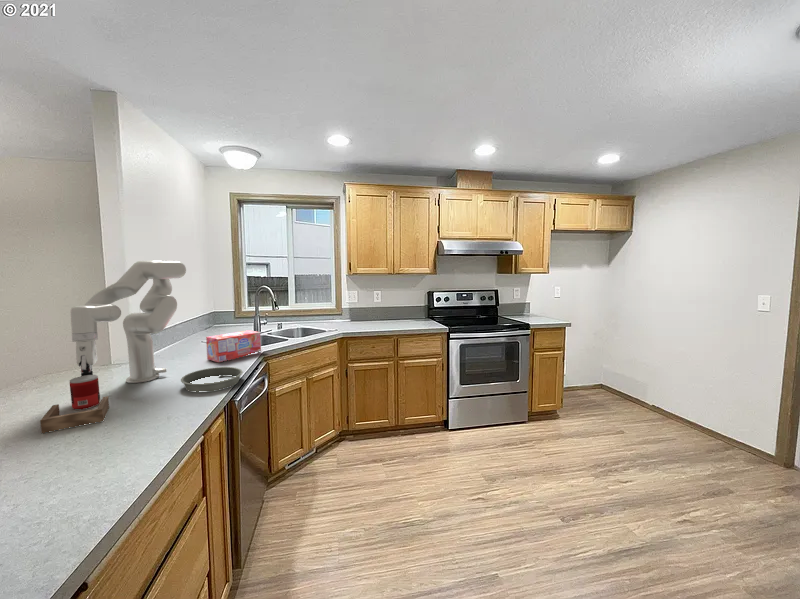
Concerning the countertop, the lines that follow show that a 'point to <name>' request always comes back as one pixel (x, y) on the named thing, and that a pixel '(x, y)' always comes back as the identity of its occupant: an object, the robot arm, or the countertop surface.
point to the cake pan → (208, 373)
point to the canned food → (84, 391)
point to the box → (232, 345)
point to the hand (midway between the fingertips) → (87, 381)
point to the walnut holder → (73, 417)
